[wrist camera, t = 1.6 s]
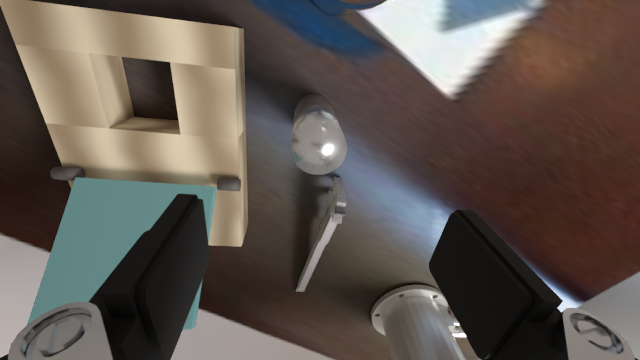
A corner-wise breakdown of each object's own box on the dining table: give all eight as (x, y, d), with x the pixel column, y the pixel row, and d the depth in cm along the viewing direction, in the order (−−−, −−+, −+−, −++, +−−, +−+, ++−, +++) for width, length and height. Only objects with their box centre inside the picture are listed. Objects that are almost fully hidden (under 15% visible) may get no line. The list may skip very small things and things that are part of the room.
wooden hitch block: (246, 29, 23) (232, 26, 19) (249, 225, 34) (241, 254, 29) (44, 3, 22) (-26, -7, 17) (112, 217, 32) (80, 247, 27)
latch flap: (216, 189, 25) (214, 186, 25) (195, 326, 22) (191, 329, 21) (83, 180, 24) (75, 177, 23) (38, 324, 21) (26, 327, 20)
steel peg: (335, 96, 27) (351, 124, 18) (329, 134, 28) (342, 176, 20) (295, 92, 26) (292, 119, 17) (293, 131, 28) (289, 172, 19)
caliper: (332, 173, 31) (339, 202, 25) (341, 175, 31) (349, 204, 26) (295, 288, 40) (294, 327, 35) (302, 289, 40) (302, 328, 35)
